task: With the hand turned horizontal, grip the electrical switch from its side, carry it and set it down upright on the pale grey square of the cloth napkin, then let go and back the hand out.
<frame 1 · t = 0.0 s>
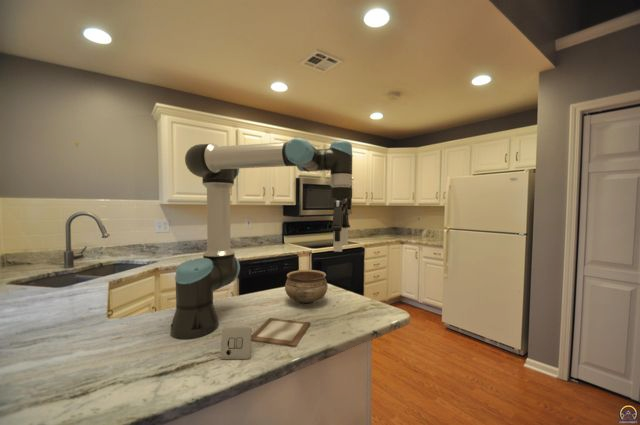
hand: (341, 248, 92), 28 cm above the countertop, tool pointing down, fingers open, 13 cm apart
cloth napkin: (281, 331, 89), on the countertop
cooking pot: (306, 302, 117), on the countertop
electrical switch: (236, 355, 75), on the countertop
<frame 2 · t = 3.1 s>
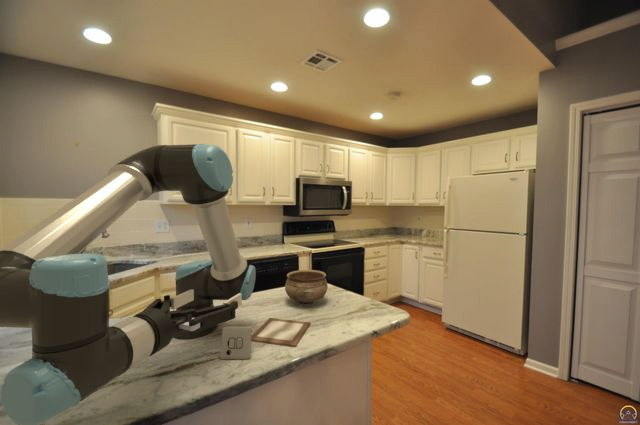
hand: (216, 296, 66), 20 cm above the countertop, tool horizontal, fingers open, 13 cm apart
nothing on the countertop moved.
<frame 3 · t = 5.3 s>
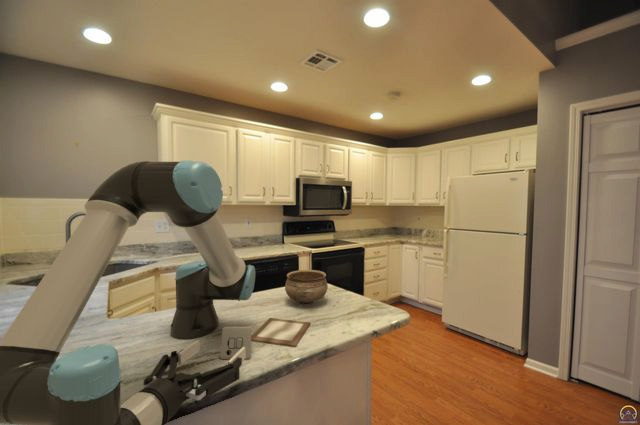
hand: (220, 348, 68), 6 cm above the countertop, tool horizontal, fingers open, 13 cm apart
nothing on the countertop moved.
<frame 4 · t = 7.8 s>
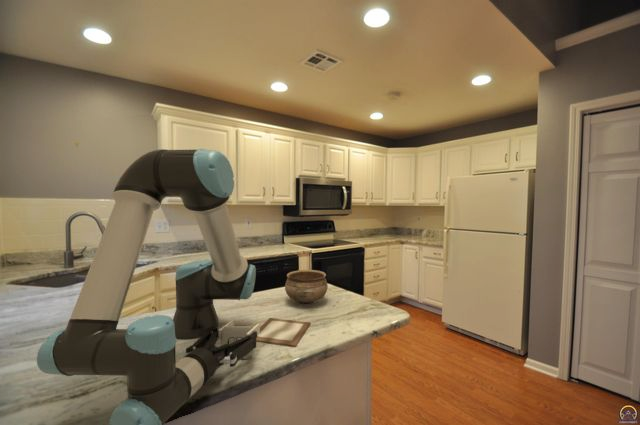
hand: (245, 326, 80), 6 cm above the countertop, tool horizontal, fingers closed on electrical switch, 8 cm apart
electrical switch: (236, 355, 75), on the countertop, touching gripper
everything else where it was.
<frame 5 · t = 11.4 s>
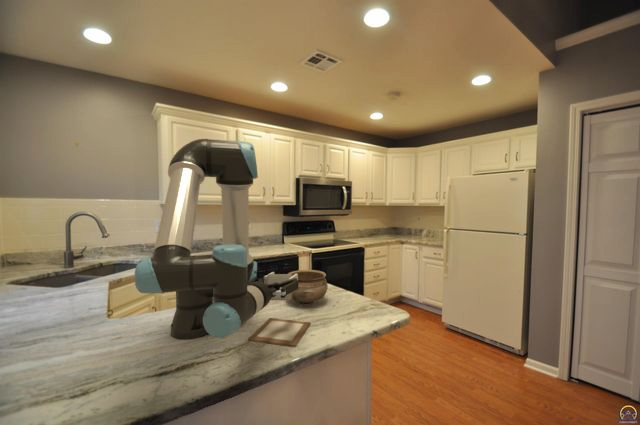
hand: (284, 276, 92), 18 cm above the countertop, tool horizontal, fingers closed on electrical switch, 8 cm apart
electrical switch: (279, 298, 88), point 12 cm above the countertop, touching gripper
everything else where it was.
when the fingers open (7 cm above the countertop, at t = 15.0 s): electrical switch stays where it is, resting on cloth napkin.
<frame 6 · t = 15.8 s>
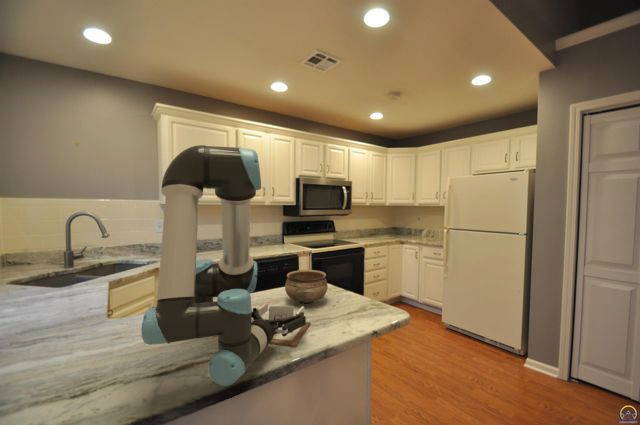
hand: (284, 308, 92), 7 cm above the countertop, tool horizontal, fingers open, 13 cm apart
electrical switch: (280, 330, 89), resting on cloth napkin
everything else where it was.
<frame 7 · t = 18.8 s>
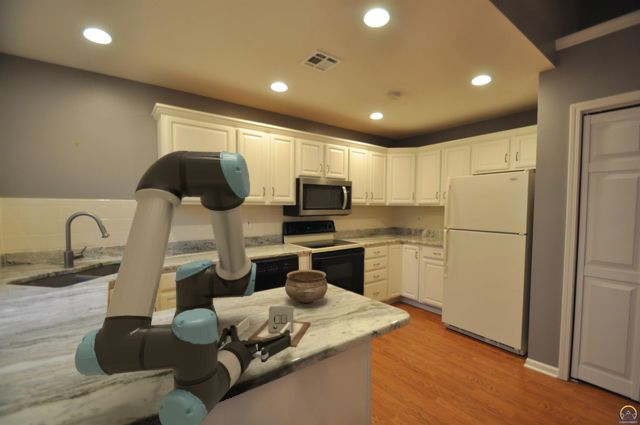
hand: (268, 324, 80), 7 cm above the countertop, tool horizontal, fingers open, 13 cm apart
nothing on the countertop moved.
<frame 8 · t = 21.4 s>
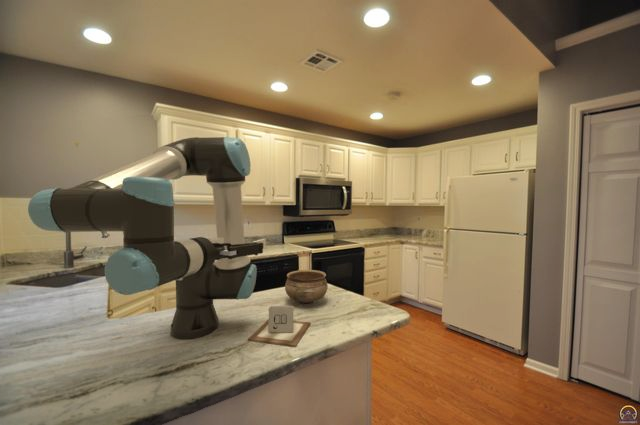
hand: (243, 242, 76), 32 cm above the countertop, tool horizontal, fingers open, 13 cm apart
nothing on the countertop moved.
at the end: electrical switch inside the target area on the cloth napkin (0.1 cm from its centre), point 0.5 cm above the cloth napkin's base; electrical switch tilted 0°; the gripper is holding nothing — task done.
